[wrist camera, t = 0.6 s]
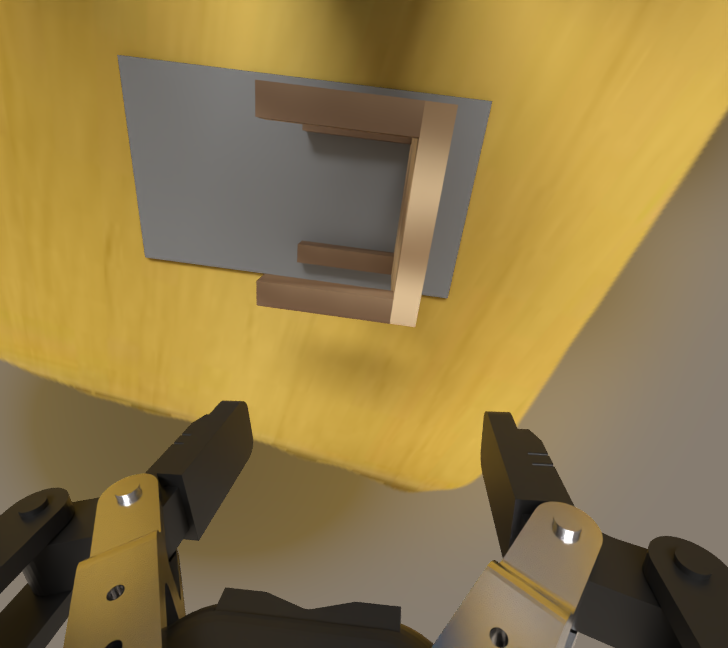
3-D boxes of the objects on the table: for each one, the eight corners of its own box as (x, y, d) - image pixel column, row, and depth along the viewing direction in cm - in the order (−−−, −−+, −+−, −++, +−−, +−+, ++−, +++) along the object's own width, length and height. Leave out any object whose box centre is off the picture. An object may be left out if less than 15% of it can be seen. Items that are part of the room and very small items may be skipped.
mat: (120, 56, 29) (117, 54, 28) (490, 102, 28) (492, 101, 28) (147, 256, 35) (145, 257, 35) (446, 296, 35) (447, 298, 34)
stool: (307, 108, 29) (255, 79, 18) (434, 124, 29) (458, 104, 18) (301, 257, 34) (256, 305, 23) (408, 272, 34) (415, 327, 23)
